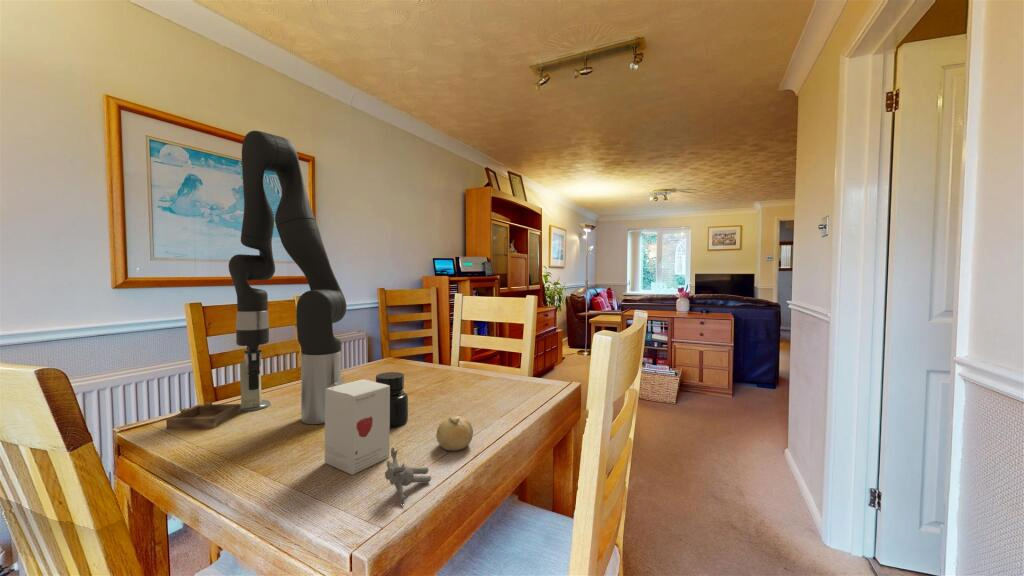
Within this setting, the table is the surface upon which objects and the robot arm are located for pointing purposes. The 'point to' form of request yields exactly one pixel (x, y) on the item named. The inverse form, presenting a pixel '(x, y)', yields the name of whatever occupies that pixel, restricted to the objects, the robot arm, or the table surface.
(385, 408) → the supplement box
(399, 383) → the ink bottle
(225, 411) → the brown square shallow tray
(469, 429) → the onion
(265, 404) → the coaster
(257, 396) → the skincare box
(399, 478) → the grey toy figurine
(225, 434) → the table surface
